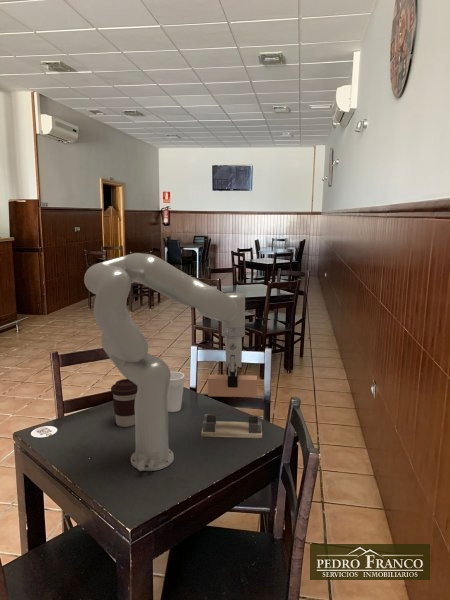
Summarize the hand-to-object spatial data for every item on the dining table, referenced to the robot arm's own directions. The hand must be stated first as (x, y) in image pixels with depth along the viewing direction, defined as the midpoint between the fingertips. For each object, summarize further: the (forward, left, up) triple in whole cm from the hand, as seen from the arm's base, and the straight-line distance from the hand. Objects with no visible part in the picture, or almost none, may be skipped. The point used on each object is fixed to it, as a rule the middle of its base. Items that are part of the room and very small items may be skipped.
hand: (232, 383), depth 147 cm
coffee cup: (+4, +37, -17) cm, 41 cm away
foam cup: (+17, +23, -17) cm, 33 cm away
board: (0, 0, -17) cm, 17 cm away
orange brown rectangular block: (0, 0, -4) cm, 4 cm away
